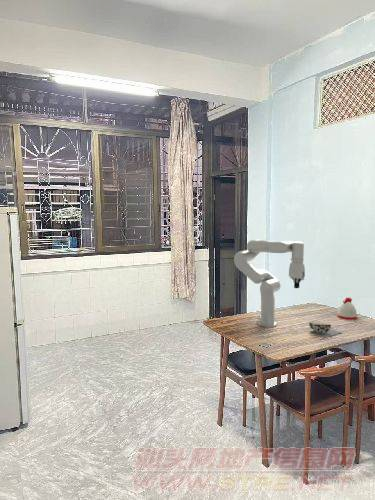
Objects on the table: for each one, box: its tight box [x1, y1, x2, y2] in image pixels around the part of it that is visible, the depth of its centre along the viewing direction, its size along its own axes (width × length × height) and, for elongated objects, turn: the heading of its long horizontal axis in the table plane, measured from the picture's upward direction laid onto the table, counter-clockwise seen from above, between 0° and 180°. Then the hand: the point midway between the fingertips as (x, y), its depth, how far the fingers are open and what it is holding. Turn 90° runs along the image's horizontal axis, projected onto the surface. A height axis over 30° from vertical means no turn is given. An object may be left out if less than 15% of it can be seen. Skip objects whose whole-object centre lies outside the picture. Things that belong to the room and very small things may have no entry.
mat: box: [310, 328, 343, 339], centre depth 241 cm, size 12×16×1 cm
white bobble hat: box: [336, 297, 358, 320], centre depth 277 cm, size 14×14×15 cm
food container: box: [308, 322, 332, 334], centre depth 241 cm, size 12×6×10 cm
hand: (296, 287), depth 243 cm, fingers closed
